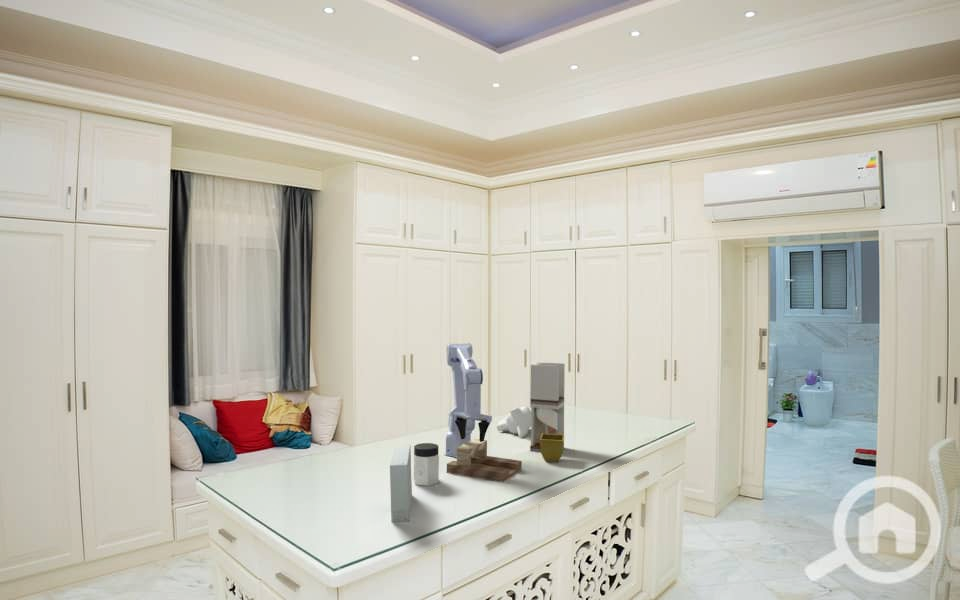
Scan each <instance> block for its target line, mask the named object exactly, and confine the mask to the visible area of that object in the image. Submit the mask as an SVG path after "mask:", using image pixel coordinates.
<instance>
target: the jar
mask: <svg viewBox="0 0 960 600" xmlns="http://www.w3.org/2000/svg"><path fill="white" fill-rule="evenodd" d="M439 461H440V457H439V445H438V444H436V443H433V442H432V443H431V442H424V443H417V444H415V445H414V448H413V482H414V484H415V485H417V486H425V487H428V486H433V485H436V484H439V482H440V481H439V480H440V479H439V476H440V475H439V473H440V472H439V471H440V470H439V469H440V467H439V466H440V462H439Z"/></svg>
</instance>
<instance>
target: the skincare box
mask: <svg viewBox="0 0 960 600" xmlns="http://www.w3.org/2000/svg"><path fill="white" fill-rule="evenodd" d="M411 449H412V448H411V444H395V445H394V448H393V451H392V456H391V460H390V463H389V470H390V471H389V479H390V480H389V481H390V482H389V484H390V489H389V490H390V512H391V513H390V515H391V518H390V519H391V521H390V522H391V523H397V522H398V523H400V522H409V521H410V517H411V506H412V496H413V484H412V454H411V453H412V451H411Z"/></svg>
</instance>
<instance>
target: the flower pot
mask: <svg viewBox="0 0 960 600" xmlns="http://www.w3.org/2000/svg"><path fill="white" fill-rule="evenodd" d="M563 444H564V445H565V434H564V435H557V434H542V435H541V438H540V445H541V452H540V453H541V456H542V459H543V460H544V461H545V462H552V463H553V462H554V463H559V462H560V460H561V458H562V454H563V449H564V448H563Z"/></svg>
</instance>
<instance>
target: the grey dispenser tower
mask: <svg viewBox="0 0 960 600" xmlns="http://www.w3.org/2000/svg"><path fill="white" fill-rule="evenodd" d="M565 371H566V369H565V363H561V362H542V361H541V362H540V361H539V362H535V363H532V364H530V411H531V427H530V447H529V451H530V452H534V451H535V452H536V453H541V445H540V438H541V435H542V434H557V435H564V436H565ZM564 448H565V443H564V444H563V449H564ZM535 452H534V453H535Z"/></svg>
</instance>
